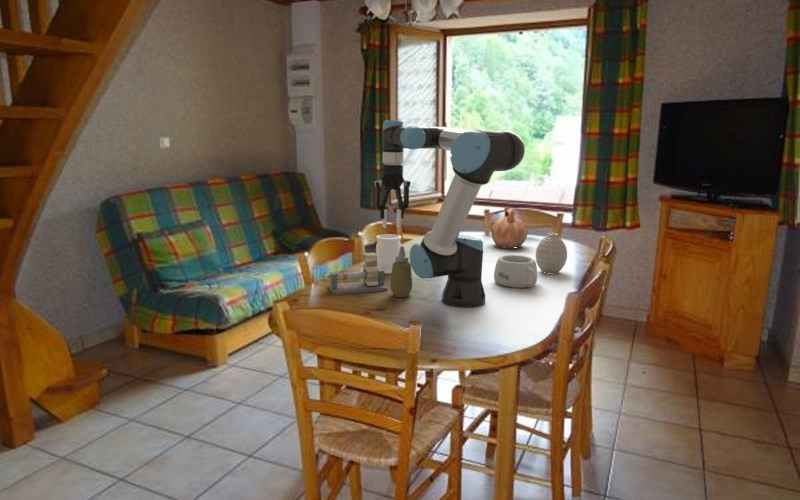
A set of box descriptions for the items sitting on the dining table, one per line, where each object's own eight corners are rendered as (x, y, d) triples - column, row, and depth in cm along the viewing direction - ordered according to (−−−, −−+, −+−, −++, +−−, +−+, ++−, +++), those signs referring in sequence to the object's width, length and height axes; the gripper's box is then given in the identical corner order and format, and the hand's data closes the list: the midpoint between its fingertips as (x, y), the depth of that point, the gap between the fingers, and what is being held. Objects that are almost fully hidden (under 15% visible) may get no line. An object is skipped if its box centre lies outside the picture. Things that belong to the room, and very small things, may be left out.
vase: (528, 272, 239) (531, 233, 235) (543, 266, 248) (546, 229, 245) (556, 278, 231) (559, 238, 227) (570, 272, 240) (574, 233, 236)
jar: (397, 275, 229) (398, 239, 226) (373, 273, 231) (373, 237, 228) (402, 269, 239) (403, 234, 236) (379, 267, 241) (379, 233, 238)
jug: (530, 251, 279) (532, 211, 275) (493, 250, 279) (495, 210, 275) (522, 243, 297) (525, 205, 293) (488, 242, 297) (490, 204, 293)
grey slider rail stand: (387, 290, 208) (387, 273, 207) (333, 294, 202) (333, 277, 200) (379, 283, 217) (379, 266, 216) (327, 287, 211) (327, 270, 209)
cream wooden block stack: (378, 285, 208) (378, 255, 206) (367, 286, 207) (367, 256, 205) (372, 280, 215) (373, 251, 212) (362, 281, 213) (362, 252, 211)
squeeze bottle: (404, 300, 197) (406, 250, 193) (385, 296, 202) (386, 247, 198) (416, 294, 204) (417, 246, 200) (397, 290, 208) (398, 243, 204)
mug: (485, 279, 226) (486, 255, 224) (520, 276, 232) (521, 252, 230) (516, 294, 207) (518, 268, 205) (553, 290, 213) (555, 264, 211)
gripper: (412, 163, 210) (410, 224, 215) (365, 163, 204) (365, 226, 209) (419, 164, 203) (417, 228, 208) (371, 164, 197) (371, 230, 202)
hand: (391, 227), depth 209 cm, fingers open, 5 cm apart
